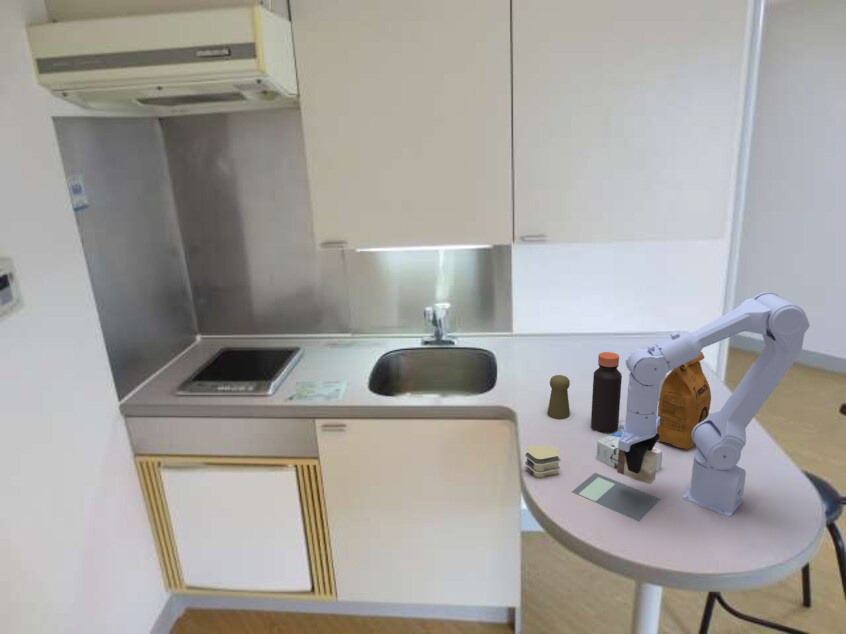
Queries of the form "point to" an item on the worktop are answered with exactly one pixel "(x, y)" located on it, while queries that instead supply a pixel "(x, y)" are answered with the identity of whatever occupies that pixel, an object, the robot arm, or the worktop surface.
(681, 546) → the worktop surface
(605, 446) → the ink box
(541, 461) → the beige stacked block
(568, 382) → the olive pawn
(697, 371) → the coffee package
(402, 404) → the worktop surface
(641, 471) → the card case
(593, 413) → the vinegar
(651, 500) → the rubber mat
